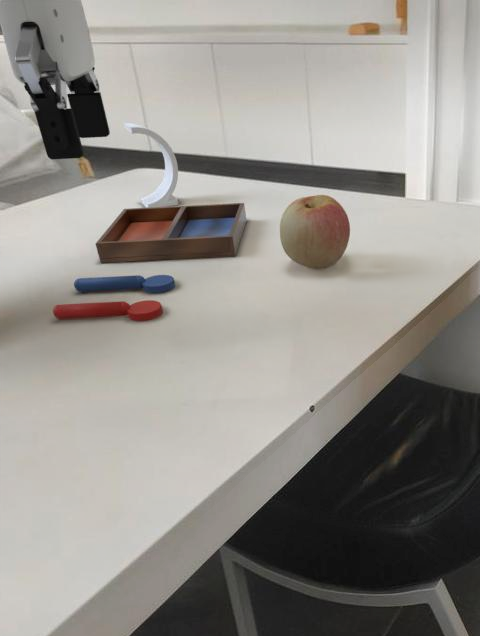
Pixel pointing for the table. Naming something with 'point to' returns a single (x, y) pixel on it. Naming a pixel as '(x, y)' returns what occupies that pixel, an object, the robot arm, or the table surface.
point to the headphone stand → (168, 184)
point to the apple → (315, 231)
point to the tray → (173, 233)
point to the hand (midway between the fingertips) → (81, 146)
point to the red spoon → (110, 310)
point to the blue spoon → (126, 283)
